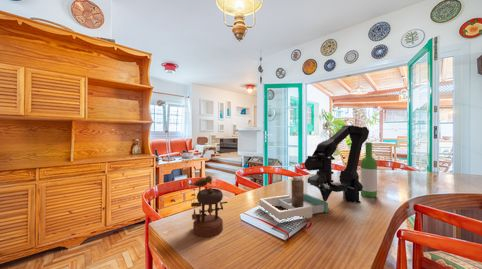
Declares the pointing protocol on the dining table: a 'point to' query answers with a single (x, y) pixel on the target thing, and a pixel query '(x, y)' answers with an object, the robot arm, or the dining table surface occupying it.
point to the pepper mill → (297, 192)
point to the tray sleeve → (284, 214)
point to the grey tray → (307, 204)
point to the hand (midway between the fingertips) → (325, 201)
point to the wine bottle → (369, 173)
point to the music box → (207, 223)
